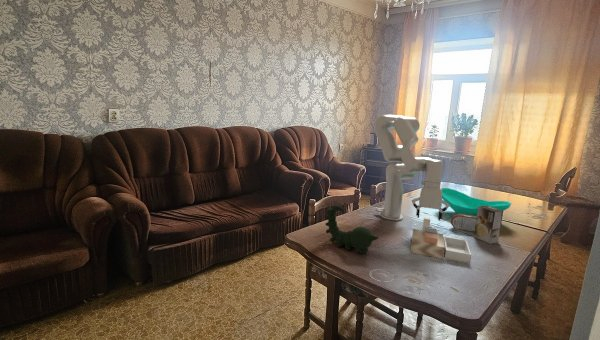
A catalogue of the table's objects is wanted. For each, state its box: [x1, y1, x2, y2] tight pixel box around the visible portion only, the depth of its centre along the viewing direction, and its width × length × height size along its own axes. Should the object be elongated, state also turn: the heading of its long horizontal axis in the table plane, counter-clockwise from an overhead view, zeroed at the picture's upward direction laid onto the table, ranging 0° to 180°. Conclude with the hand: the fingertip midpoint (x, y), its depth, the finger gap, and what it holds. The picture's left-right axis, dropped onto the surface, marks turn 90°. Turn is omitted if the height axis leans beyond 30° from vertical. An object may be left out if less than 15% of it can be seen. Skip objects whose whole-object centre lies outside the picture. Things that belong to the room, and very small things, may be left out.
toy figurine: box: [324, 205, 379, 255], centre depth 135 cm, size 9×19×25 cm
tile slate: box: [424, 227, 438, 236], centre depth 142 cm, size 5×5×2 cm
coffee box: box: [473, 205, 504, 244], centre depth 153 cm, size 9×6×16 cm
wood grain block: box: [410, 228, 445, 259], centre depth 140 cm, size 13×16×5 cm
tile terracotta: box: [424, 233, 438, 244], centre depth 136 cm, size 5×5×2 cm
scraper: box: [421, 216, 431, 231], centre depth 157 cm, size 3×16×8 cm, turn 159°
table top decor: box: [440, 187, 512, 216], centre depth 186 cm, size 40×28×13 cm
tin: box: [450, 213, 477, 233], centre depth 164 cm, size 15×3×8 cm, turn 71°
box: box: [443, 235, 472, 265], centre depth 136 cm, size 10×16×4 cm, turn 159°
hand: (428, 218), depth 155 cm, fingers open, 9 cm apart
